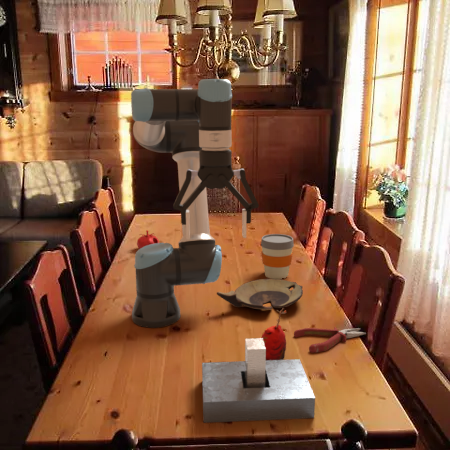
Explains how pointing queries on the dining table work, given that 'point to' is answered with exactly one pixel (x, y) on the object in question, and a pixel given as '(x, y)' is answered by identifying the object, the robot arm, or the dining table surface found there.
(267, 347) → the red clay folk toy
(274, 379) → the bracket head
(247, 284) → the broken bowl
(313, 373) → the dining table surface
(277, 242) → the reusable coffee cup
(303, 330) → the pliers
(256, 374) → the white tall block
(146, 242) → the pomegranate
